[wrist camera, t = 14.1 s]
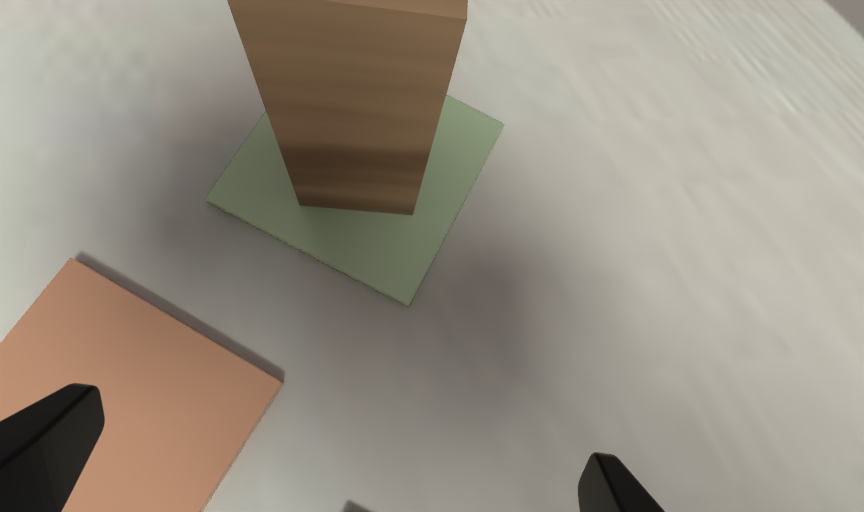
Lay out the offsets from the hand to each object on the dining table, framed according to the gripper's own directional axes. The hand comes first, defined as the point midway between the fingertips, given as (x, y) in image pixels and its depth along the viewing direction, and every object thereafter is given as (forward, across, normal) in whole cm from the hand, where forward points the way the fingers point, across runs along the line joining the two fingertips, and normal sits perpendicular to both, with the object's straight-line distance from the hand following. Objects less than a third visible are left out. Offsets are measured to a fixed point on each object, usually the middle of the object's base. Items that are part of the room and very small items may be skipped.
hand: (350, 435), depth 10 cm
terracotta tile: (+8, +10, +10) cm, 17 cm away
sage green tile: (+17, +2, +1) cm, 17 cm away
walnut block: (+16, +2, 0) cm, 16 cm away
